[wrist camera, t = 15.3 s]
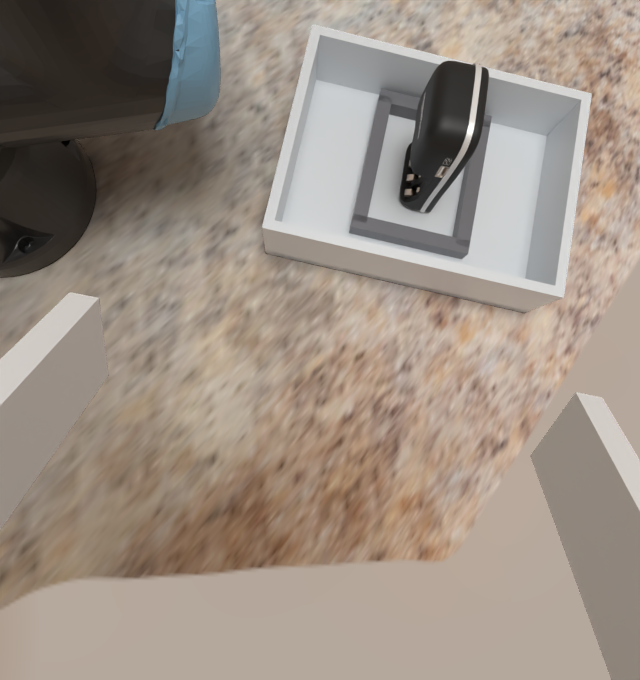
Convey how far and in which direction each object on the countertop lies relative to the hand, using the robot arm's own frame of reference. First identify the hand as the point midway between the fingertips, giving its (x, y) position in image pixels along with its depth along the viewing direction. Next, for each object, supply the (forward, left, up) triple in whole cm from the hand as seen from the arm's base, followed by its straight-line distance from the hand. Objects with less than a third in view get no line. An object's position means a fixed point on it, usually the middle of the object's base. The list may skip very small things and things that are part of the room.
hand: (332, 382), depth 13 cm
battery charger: (+6, +22, -26) cm, 34 cm away
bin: (+6, +21, -27) cm, 34 cm away
